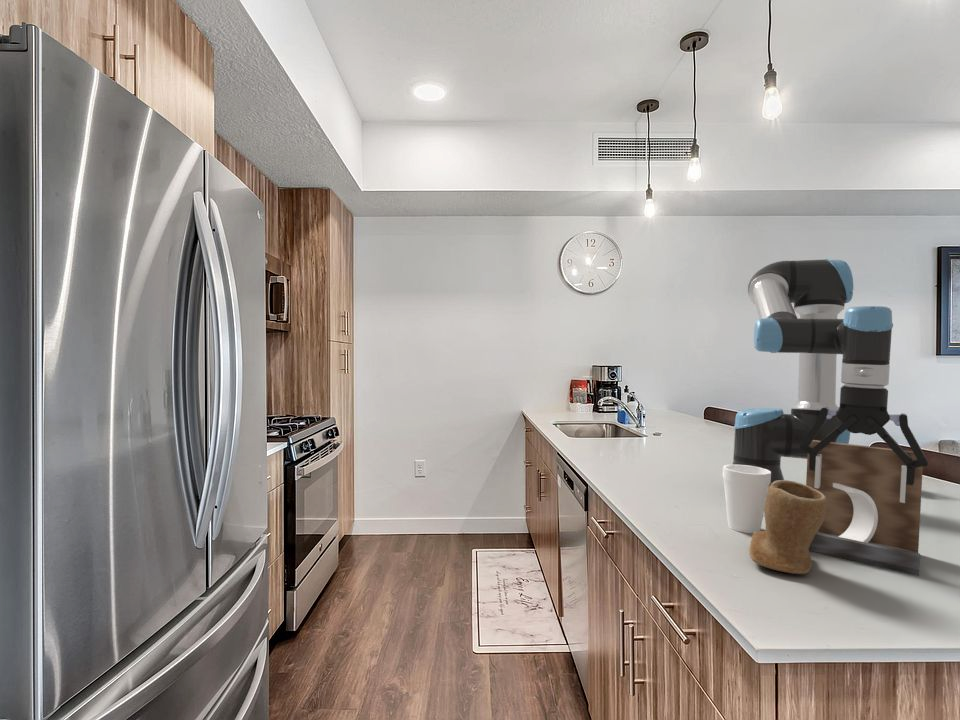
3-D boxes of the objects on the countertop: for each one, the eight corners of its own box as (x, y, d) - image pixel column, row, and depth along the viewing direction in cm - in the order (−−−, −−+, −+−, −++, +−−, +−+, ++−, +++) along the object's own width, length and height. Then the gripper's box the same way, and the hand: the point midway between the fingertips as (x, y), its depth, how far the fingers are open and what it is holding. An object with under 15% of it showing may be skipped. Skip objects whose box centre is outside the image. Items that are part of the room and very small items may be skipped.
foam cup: (764, 524, 119) (767, 467, 119) (772, 538, 110) (775, 476, 110) (718, 519, 122) (720, 462, 122) (722, 531, 113) (725, 471, 113)
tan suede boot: (825, 587, 88) (829, 497, 87) (745, 569, 94) (748, 485, 94) (822, 557, 101) (826, 479, 100) (752, 543, 107) (755, 469, 106)
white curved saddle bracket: (829, 542, 106) (832, 482, 106) (855, 541, 107) (858, 482, 107) (849, 551, 101) (852, 489, 101) (876, 550, 102) (879, 488, 102)
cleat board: (795, 547, 105) (799, 447, 105) (805, 530, 116) (809, 439, 115) (919, 575, 93) (925, 462, 93) (917, 553, 104) (923, 452, 103)
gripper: (787, 382, 108) (782, 485, 109) (950, 392, 92) (943, 512, 93) (793, 380, 114) (788, 478, 115) (948, 390, 98) (941, 502, 99)
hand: (858, 493), depth 104 cm, fingers open, 13 cm apart
